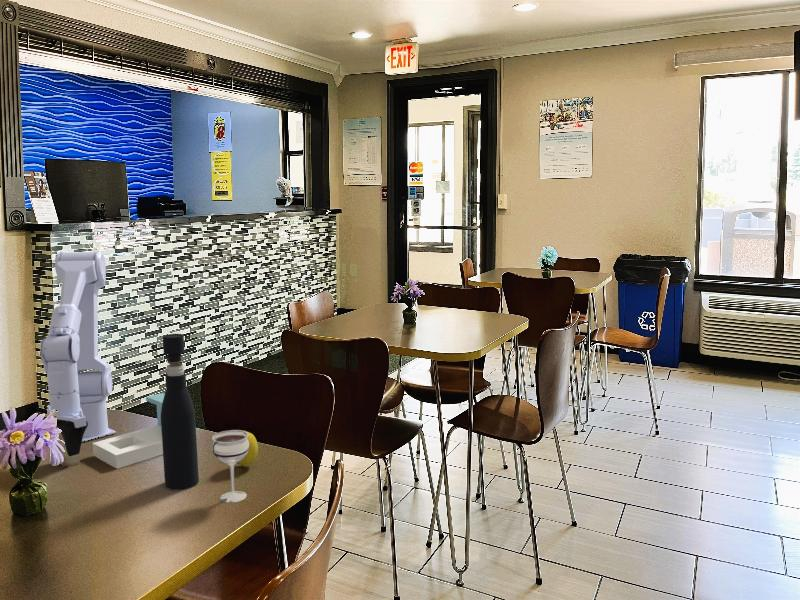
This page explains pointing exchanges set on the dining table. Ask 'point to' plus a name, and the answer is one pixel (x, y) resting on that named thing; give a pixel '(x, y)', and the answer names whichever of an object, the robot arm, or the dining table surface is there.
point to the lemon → (250, 451)
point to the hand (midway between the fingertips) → (69, 452)
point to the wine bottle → (178, 421)
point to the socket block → (133, 442)
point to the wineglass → (231, 456)
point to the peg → (69, 459)
